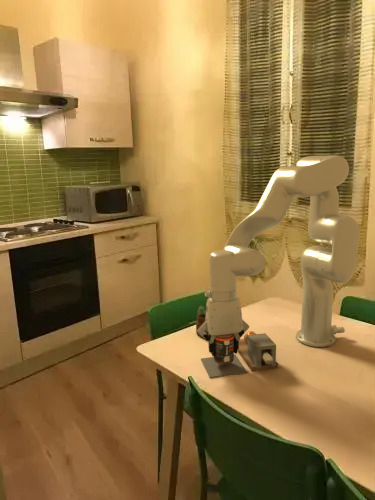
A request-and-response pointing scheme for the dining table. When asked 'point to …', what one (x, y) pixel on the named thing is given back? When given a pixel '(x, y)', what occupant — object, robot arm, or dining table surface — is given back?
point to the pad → (223, 367)
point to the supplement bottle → (224, 349)
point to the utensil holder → (201, 321)
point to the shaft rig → (257, 352)
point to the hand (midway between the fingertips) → (223, 352)
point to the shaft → (264, 353)
